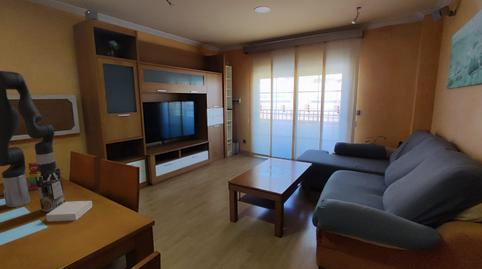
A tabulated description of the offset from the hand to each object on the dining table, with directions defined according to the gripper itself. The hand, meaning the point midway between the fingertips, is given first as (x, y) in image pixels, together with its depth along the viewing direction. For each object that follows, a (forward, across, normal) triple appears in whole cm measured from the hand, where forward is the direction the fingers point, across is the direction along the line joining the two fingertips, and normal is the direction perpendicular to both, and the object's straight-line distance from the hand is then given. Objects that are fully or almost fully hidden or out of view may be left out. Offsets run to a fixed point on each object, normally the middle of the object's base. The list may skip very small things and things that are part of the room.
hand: (51, 190), depth 123 cm
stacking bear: (+11, -32, -33) cm, 47 cm away
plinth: (+11, +6, +13) cm, 18 cm away
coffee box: (+11, 0, 0) cm, 11 cm away
